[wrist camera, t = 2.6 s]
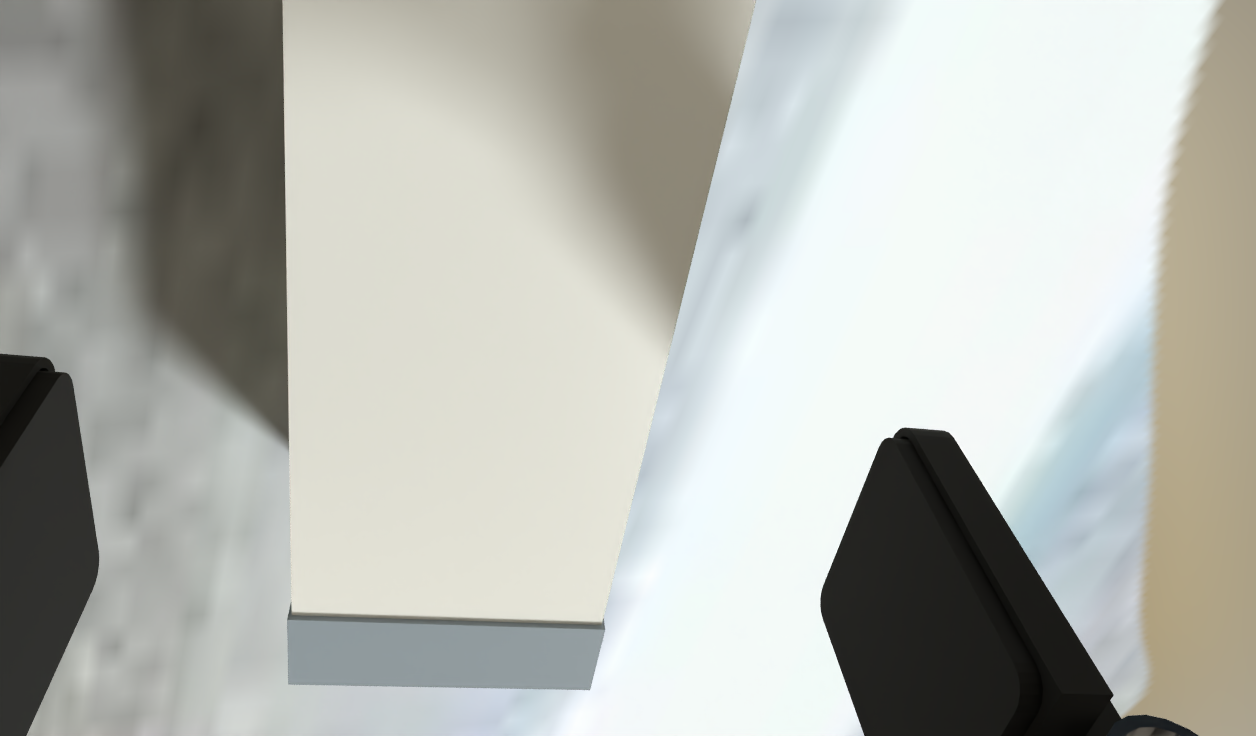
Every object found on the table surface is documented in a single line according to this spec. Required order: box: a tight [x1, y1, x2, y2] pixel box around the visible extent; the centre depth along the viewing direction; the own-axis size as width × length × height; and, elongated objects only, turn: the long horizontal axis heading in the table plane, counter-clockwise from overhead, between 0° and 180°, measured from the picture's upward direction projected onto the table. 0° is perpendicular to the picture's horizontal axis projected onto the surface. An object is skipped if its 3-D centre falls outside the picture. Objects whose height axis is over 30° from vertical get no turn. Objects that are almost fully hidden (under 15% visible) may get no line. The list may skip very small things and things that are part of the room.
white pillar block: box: [283, 0, 756, 690], centre depth 15 cm, size 14×5×5 cm, turn 169°
